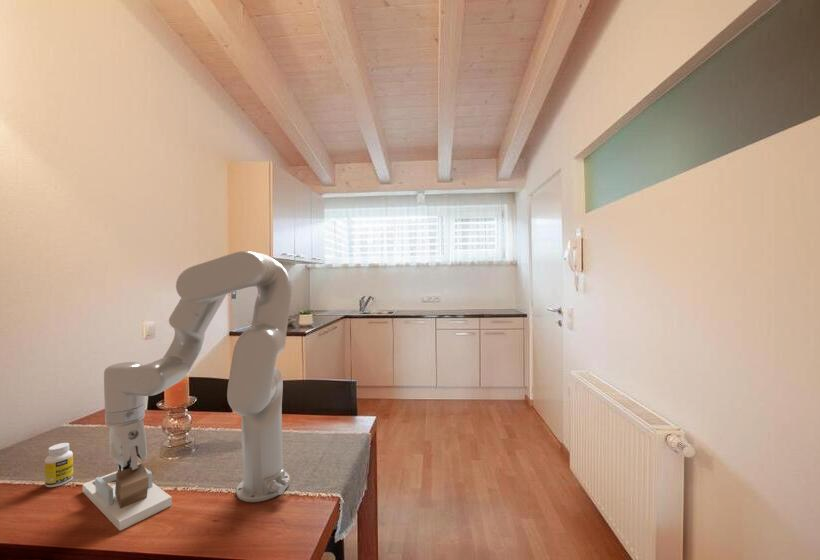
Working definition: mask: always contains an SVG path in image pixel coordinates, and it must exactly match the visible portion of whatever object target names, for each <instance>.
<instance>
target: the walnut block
mask: <svg viewBox="0 0 820 560" xmlns="http://www.w3.org/2000/svg"><path fill="white" fill-rule="evenodd" d="M145 468H146V467H145V465H144V463H139V465H138V469H137V470H134V471H132V472H131V470H130V469H129V468H128V469H125V470H122V471H119V472H116V471H115V472H116V487H115V495H116V497H117V500H118V503H119V506H120V508H123V507H125V506H127V505H130V504H132V503H135V502H137V501H140V500H142V499H144V498H147V491H148V480H149V476H148V474H147V472H146V470H145Z"/></svg>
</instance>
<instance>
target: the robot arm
mask: <svg viewBox="0 0 820 560" xmlns="http://www.w3.org/2000/svg"><path fill="white" fill-rule="evenodd" d="M250 287H256V289H257V295H256V299H255V302H254V307H253V315H252V319H251V325H250V328H248V329H246V330H244V331H243V332H242V333H241V334H240V335H239V337H238V338H237V340H236V342H235V344H234V347H233V351H232V356H231V363H230V370H229V377H228V381H227V382H228V383H227V390H226V391H227V392H226V397H227V403H228V405H229V406H230V409H232V411H233V412H234V413H236V414H237V415H240V416H241V452H242V454H241V457H242V461H241V462H242V480H241V482H239V484H238V485H237V486H236V489H235V490H236V491H235V493H236V496H237V498H238V499H239V500H241V501H242V502H246V503H259V502H264V501H268V500H270V499H274V498H275V497H277V496H282V495H283V494H284V493H285V491H286V490H287V489H288V487H289V486H290V484H291V482H290V481H291V477H290V474H289V473H288V472H287V471H285V469H284V457H283V456H284V454H283V453H284V451H283V415H282V414H283V413H282V411H283V408H282V407H283V406H282V405H283V404H282V403H283V388H284V383H283V376H282V372H281V371H280V370H279V368H278V367H277V366H276V365H277V358H278V357H279V356H280V355H281V354H282V352H283V351H284V349H285V347H286V343H287V342H286V341H287V332H288V325H289V320H290V319H289V318H290V317H289V316H290V307H291V302H292V300H291V299H292V292H293V291H292V289H293V287H292V281H291V277H290V275H289V273H288V272H287V269H286V268H285V267H284V266H283V265H282V264H281V263H280V262H279V261H277V260H276V259H274V258H273V257H271V256H270V255H267V254H265V253H262V252H261V253H260V252H255V251H251V250H240V251H237V252H233V253H232V252H231V253H230V254H227V255H224V256H219V257H218V258H217V257H216V258H214V259H211V260H207V261H205V262H202V263H199V264H196V265H192V266H190V267H187V268H186V269H184V270H183V271H182V272H181V273H180V274H179V275H178V277H177V279H176V282H175V289H176V293H177V294H178V296H179V298H180V299H179V301H178V303H177V305H176V306H175V308H174V310H173V311H172V313H171V314H170V316H169V318H168V323H169V326H171V327H172V328H173V330H174V336H173V339H172V342H171V344H170V345H169V348H168V349H167V351H166V353H165V354H164V355H163V357H162V358H160V359H157V360H154V361H153V362H150V363H147V364H144V365H143V364H142V363H141V362H139V361H123V362H119V363H118V362H117V363H114V364H111V365H109V366H108V367H106V368H105V369H104V371H103V386H104V387H103V391H104V393H103V394H104V423H105V426H107V427H109V434H108V435H109V436H108V439H109V440H108V442H109V443H108V445H109V447H108V448H109V456H110V458H111V459H112V460H113V461H114V462H115V463H116V466H117V471H118V472H119V471H122V470H125V469H128V468H129V469H130V470H131V472H132V471H134V470H137V469H138V463H139V462H138V458H139V459H140V460H143V461H145V460H146V459H147V457H148V452H147V438H146V430H145V425H144V424H145V422H144V420H143V419H144V418H145V417H146V412H145V407H146V406H145V397H152V396H156V395H158V394H161V393H163V392H164V391H166V390H168V389H170V388H171V387H173V386H174V385H176V384H178V383H180V382H181V381H183V379H184V378H186V376H187V375H188V373H189V372H190V371H191V369H192V367H193V365H194V364H195V362H196V360H197V358H198V357H199V355H200V353H201V350H202V347H203V345H204V340H205V333H206V331H207V329H208V327H209V326H210V324H211V322H212V320H213V319H214V317H215V315H216V314H217V312H218V310H219V308H220V306H221V305H222V303H223V301H224V299H225V298H226V296H227V295H228V294H229V295H230V294H231V293H235V292H236V291H237V292H238V291H240V290H243V289H246V288H250Z"/></svg>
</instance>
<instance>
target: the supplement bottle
mask: <svg viewBox="0 0 820 560" xmlns="http://www.w3.org/2000/svg"><path fill="white" fill-rule="evenodd" d="M73 478H74V453H73V451H72V450H70V443H69V442H61V443H58V444H53V445H52V446H50V447H48V455H47V456H46V457H45V459H44V486H45V487H46V488H54V487H60V486H62V485H64V484H67V483H69V482H70V481H72V480H73Z"/></svg>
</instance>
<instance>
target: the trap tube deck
mask: <svg viewBox="0 0 820 560" xmlns="http://www.w3.org/2000/svg"><path fill="white" fill-rule="evenodd" d="M139 464H140V463H139V462H138V465H139ZM145 470H146V472H147V474H148V476H149V480H148V491H147V498H144V499H142V500H140V501H137V502H135V503H132V504H130V505H127V506H125V507H123V508H120V506H119V503H118V500H117V497H116V495H115V487H116V484H115V485H112V486H109V485H108V484H107V483H108V482H116V472H118V470H117V471H113V472H111V473H108V474H106V475H103V476H96V477H95V478H94V479H93V480H90V481H86V482H84V483H82V493H83V494H84V495H85V496H86V497H87V498H88V499H89V500H90V502H92V503H93V505H94V506H95V507H96V508H97V509H98V510H99V511H100V512H101V513H102V514H103V515H104V516H105V517H106V518H107V519H108V520H109V521H110V523H112V525H113V526H114V527H116V528H117V530H118V531H123V530H124V529H127V528H129V527H131V526H133V525H135V524H136V523H138V522H141V521H143V520H145V519H147V518H149V517H151V516H153V515H155V514H157V513H159V512H161V511H164V510H165V509H168V508H170V507H171V506H173V500H172V499H173V498H172V497H173V496H171V495H170V494H168V493H167V492H166V491H164V490H163V489H162V488H160V487H159V486H157V485H156V484H155V483H154V482H153V472H152V471H150V470H149V469H147V468H146V467H145Z"/></svg>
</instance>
